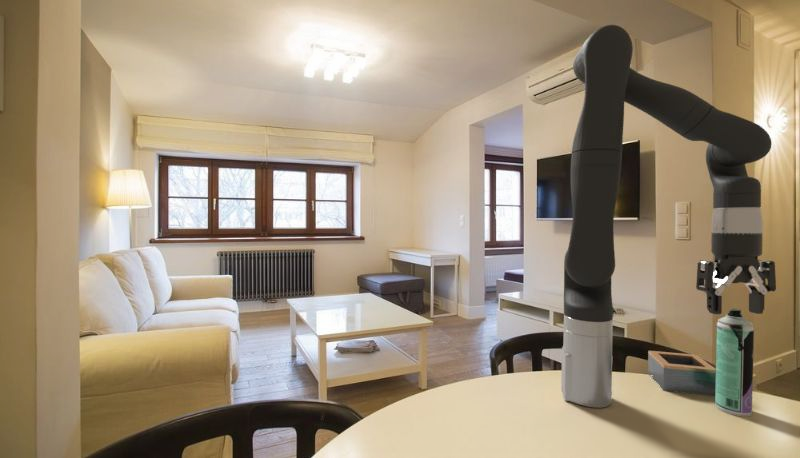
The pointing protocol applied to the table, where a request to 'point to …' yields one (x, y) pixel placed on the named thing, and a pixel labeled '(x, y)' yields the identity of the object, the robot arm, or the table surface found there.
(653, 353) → the grey open box
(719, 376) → the spray can
